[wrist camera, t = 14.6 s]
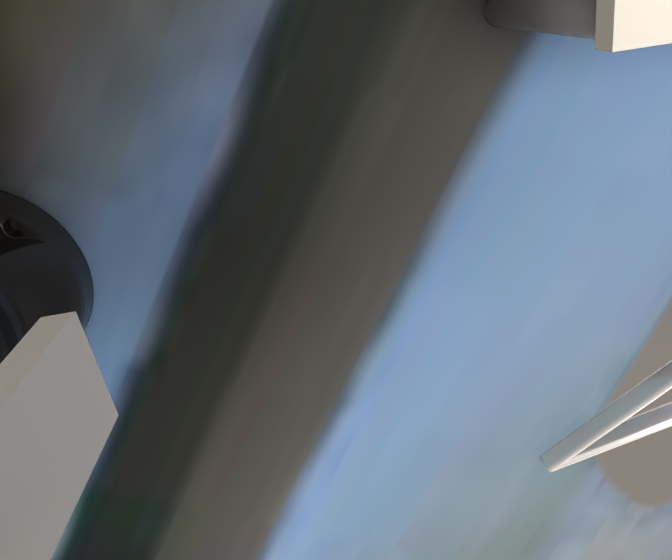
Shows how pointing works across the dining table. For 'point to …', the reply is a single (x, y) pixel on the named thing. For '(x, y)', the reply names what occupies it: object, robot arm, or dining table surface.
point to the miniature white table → (589, 20)
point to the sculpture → (617, 422)
